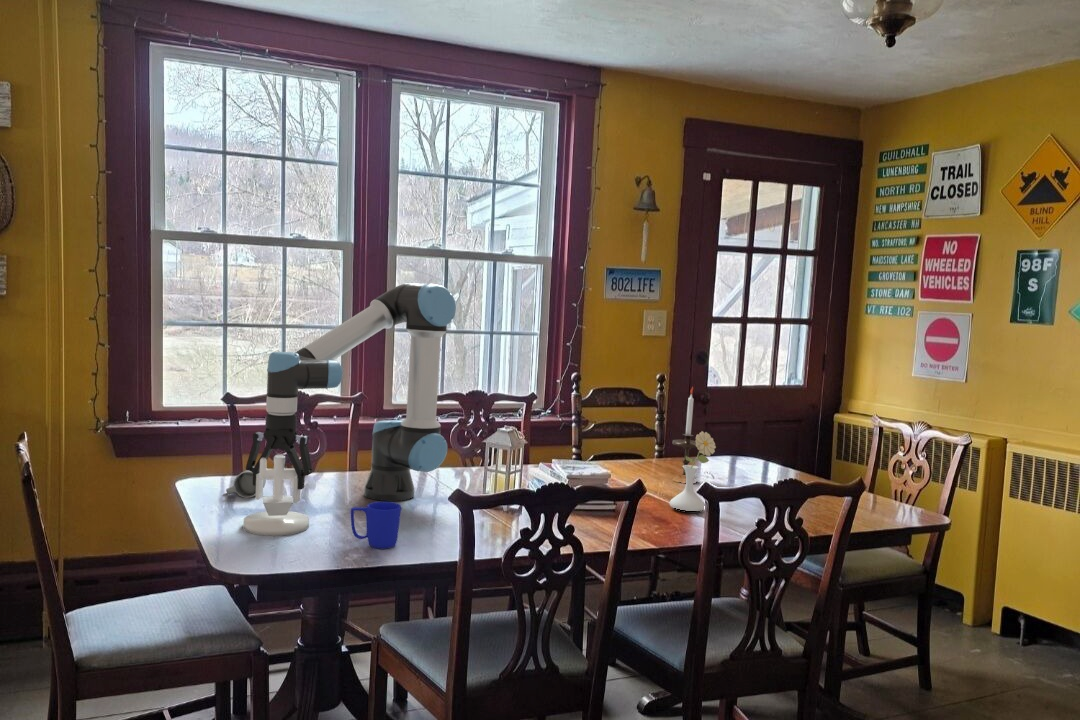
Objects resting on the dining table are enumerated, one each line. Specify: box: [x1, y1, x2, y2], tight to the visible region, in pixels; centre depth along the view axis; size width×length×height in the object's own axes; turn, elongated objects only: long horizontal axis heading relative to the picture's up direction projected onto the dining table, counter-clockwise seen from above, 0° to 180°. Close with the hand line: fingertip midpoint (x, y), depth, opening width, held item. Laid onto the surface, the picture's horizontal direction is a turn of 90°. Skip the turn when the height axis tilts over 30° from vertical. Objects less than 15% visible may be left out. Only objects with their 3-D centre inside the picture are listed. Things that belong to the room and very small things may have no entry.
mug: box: [350, 501, 402, 550], centre depth 203 cm, size 8×12×10 cm
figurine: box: [260, 454, 297, 516], centre depth 213 cm, size 7×9×15 cm
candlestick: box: [672, 385, 697, 475], centre depth 302 cm, size 11×11×35 cm
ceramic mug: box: [225, 470, 267, 499], centre depth 243 cm, size 11×8×8 cm
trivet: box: [242, 510, 310, 537], centre depth 213 cm, size 16×16×2 cm
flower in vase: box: [668, 430, 717, 512], centre depth 259 cm, size 13×11×25 cm
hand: (277, 499), depth 213 cm, fingers closed on figurine, 9 cm apart
